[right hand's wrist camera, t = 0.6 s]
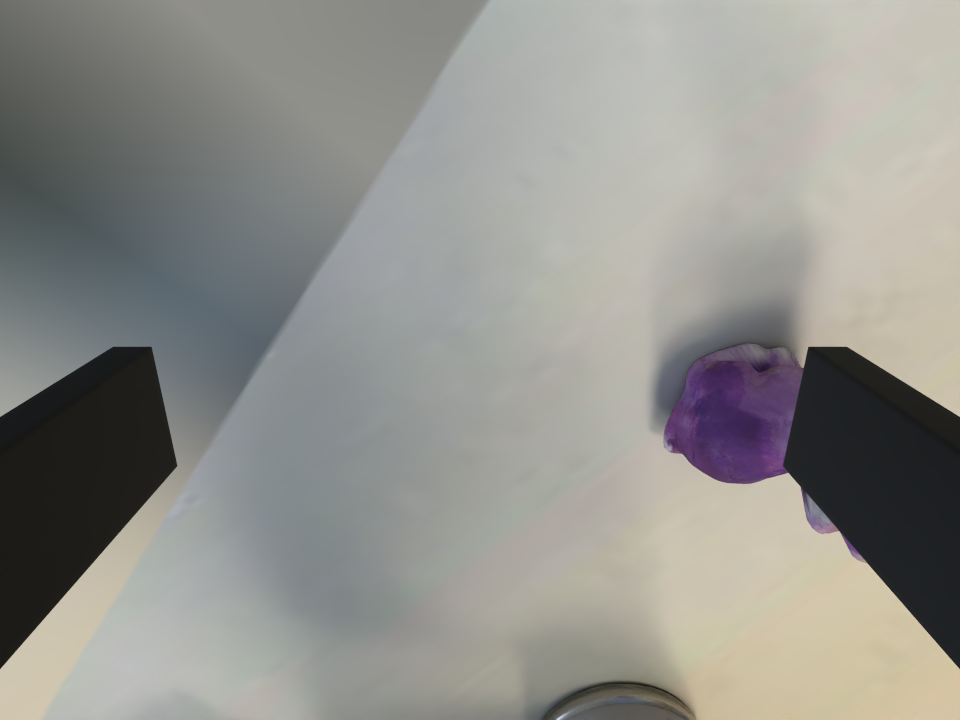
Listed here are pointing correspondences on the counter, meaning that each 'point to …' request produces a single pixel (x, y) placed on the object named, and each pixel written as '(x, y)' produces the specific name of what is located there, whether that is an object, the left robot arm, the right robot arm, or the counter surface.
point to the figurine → (741, 419)
